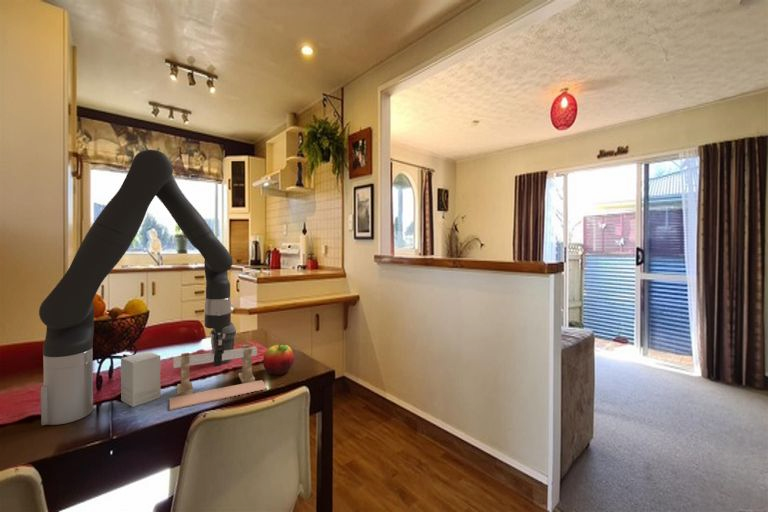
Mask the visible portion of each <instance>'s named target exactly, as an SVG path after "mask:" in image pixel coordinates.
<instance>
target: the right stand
mask: <svg viewBox="0 0 768 512" xmlns="http://www.w3.org/2000/svg"><path fill="white" fill-rule="evenodd" d="M247 347H250V344H243V345H242V348H247ZM241 360H242V363H241V367H242V369H241V373H240V372H239V373H238V378H239V380H240V383H241V384H244V383H249V382H254V381H256V377H255V376H254V373H253V370H252V369H253V356H252V348H247V349H245V357H242V358H241Z"/></svg>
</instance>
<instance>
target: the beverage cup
mask: <svg viewBox="0 0 768 512" xmlns="http://www.w3.org/2000/svg"><path fill="white" fill-rule="evenodd" d="M236 329H237V328H236V326H235V323H233V322H231V324H230V325H229V326H228V327H224V328H223V330H224V332H225V338H224V339H225V343H224V351H225V350H232V349H235V347H234V346H235V337H236V332H237V330H236ZM230 361H231V362H233V359H229V360H223V361H222V363H225V364H229V363H228V362H230ZM231 362H230V363H231Z"/></svg>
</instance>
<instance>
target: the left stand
mask: <svg viewBox="0 0 768 512" xmlns="http://www.w3.org/2000/svg"><path fill="white" fill-rule="evenodd" d="M180 354H181V355H180V357H182V356H189V355H190V354H189V352H184V353H180ZM176 386H177V387H176V390H177V392H176V393H177V397H178V396H183V395H188V394H193V393H194V386H193V382H192V381H191V382H190V366H189V357H184V358H182V367H180V383H177V385H176Z"/></svg>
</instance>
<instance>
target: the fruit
mask: <svg viewBox="0 0 768 512" xmlns="http://www.w3.org/2000/svg"><path fill="white" fill-rule="evenodd" d="M294 355H295V354H294V352H293V349H292V348H291V347H290V346H289V345H287V344H282V343H279V344H275V345H272V346H270V347H269V348H268V349H267V350H266V351H265V352H264V355H263V359H262V364H263V365H262V366H263V368H264V369H265V371H266V372H268V373H269V374H271V375H276V376H277V375H283V374H285V373H287V372H289V370H290V369H291V368H292V367H293V365H294V363H295V356H294Z"/></svg>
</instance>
